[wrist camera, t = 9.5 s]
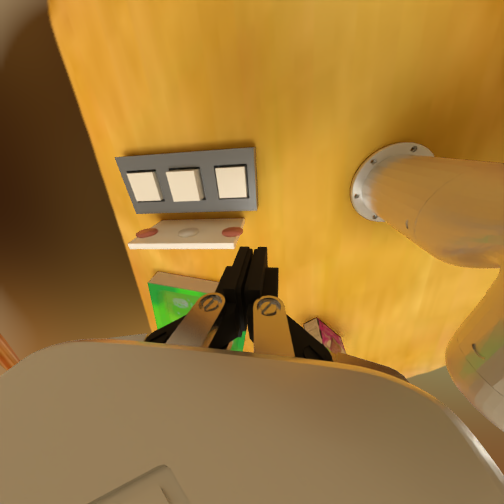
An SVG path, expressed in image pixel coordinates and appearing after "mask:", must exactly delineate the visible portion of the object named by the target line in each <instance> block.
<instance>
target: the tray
mask: <svg viewBox="0 0 504 504" xmlns="http://www.w3.org/2000/svg"><path fill="white" fill-rule="evenodd" d="M218 284H219V282H215V281H209V280H204V279H198V278H192V277H187V276H181V275H175V274H170V273H164V272H157V273H156V274H155V275H154V276H153V278H152V279H151V280H150V281H149V282H148V286H149V291H150V296H151V301H152V305H153V310H154V315H155V319H156V324H157V329H160V328H162V327H164V326H166V325H167V324H169V323H171V322H173V321H175V320H177V319H179V318H181V317H183V316H185V315H187V313H188V312H189V311H190V309H191V308H192V307H193V305H194V304H195V303H196V301H197V300H198V299H199V298H200V297H201V296H203V295H205V294H208V293H215V290H216V288H217V286H218ZM245 335H246V332H245V331H243V332H242V337H237V338H236V339H234V340H233V341H232V342H233V344H232V347H231V350H232V351H242V352H243V346H244V340H245Z"/></svg>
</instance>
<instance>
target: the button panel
mask: <svg viewBox="0 0 504 504" xmlns="http://www.w3.org/2000/svg"><path fill="white" fill-rule="evenodd" d="M115 160H116V162H117V165H118V167H119V170H120V172H121V175H122V178H123V180H124V183H125V185H126V188H127V190H128V193H129V196H130V198H131V201H132V203H133V206H134V209H135V211H136V214H147V213H183V212H218V211H253V210H257V208H258V189H257V168H256V148H255V147H248V148H234V149H220V150H207V151H193V152H179V153H166V154H152V155H138V156H125V157H115ZM236 165H247V175H248V188H249V194H248V196H247V197H238V198H220V197H219V190H218V184H217V177H216V170H215V168H218V167H220V166H236ZM198 168H200V171H201V176H202V181H203V187H204V192H205V197H204V198H203V199H201V200H200V201H179V202H174V201H173V197H172V194H171V190H170V186H169V183H168V179H167V175H166V172H169V171H172V170H181V169H198ZM154 170H156V173H157V176H158V179H159V183H160V186H161V189H162V193H163V196H164V199H162V200H158V201H137V200H136V198H135V195H134V192H133V190H132V187H131V184H130V182H129V179H128V176H127V174H128V173H133V172H137V171H154ZM244 223H245V221H244V218H229V219H185V220H162V221H160V222H159V223H157V224H156V225H154V226H153V227H151V228H149V229H144V230H141V231H139V232H137V233H136V236H137V238H135V239H134V240H132V241H131V242H129V243H128V246H129V248H130V249H234V248H235V246H236V243H237V241H238V238H239V236H240V235H241V234H242V233H243V229H242V228H243V226H244Z"/></svg>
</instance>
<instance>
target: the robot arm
mask: <svg viewBox="0 0 504 504" xmlns="http://www.w3.org/2000/svg"><path fill="white" fill-rule="evenodd" d="M411 148H412V150H411ZM371 160H373V162H372V163H371ZM355 194H356V196H354V195H355ZM350 198H351V203H352V205H353V207H354V209H355V210H356V211H357V212H358V213H359V214H360V215H361V216H363V217H364V218H366V219H368V220H371V221H376V222H387V223H388V224H390V225H391V226H392V227H394V228H395V229H396V230H398V231H399V232H401V233H402V234H403V235H405V236H406V237H407V238H409V239H410V240H411V241H413V242H414V243H416V244H417V245H418V246H420V247H421V248H422V249H424V250H425V251H427V252H428V253H429V254H431V255H432V256H434V257H436V258H437V259H439V260H441V261H443V262H446V263H448V264H452V265H455V266H460V267H468V268H500V272H499V274H498V277H497V278H496V280H495V281H494V282H493V284H492V285H491V287H490V288H489V289H488V290H487V292H486V295H485V296H484V297H483V299H482V300H481V301H480V302H479V304H478V305H477V306H476V307H475V309H474V310H473V311H472V312H471V313H470V315H469V316H468V317H467V318H466V320H465V321H464V322H463V323H462V325H461V326H460V327H459V328H458V330H457V331H456V332H455V334H454V335H453V337H452V338H451V340H450V341H449V343H448V346H447V349H446V353H445V360H446V366H447V369H448V372H449V374H450V376H451V378H452V380H453V382H454V383H455V385H456V386H457V387H458V389H459V390H460V391H461V393H462V394H463V395H464V396H465V397H466V399H467V400H468V401H469V402H470V403H471V404H472V405H473V406H474V407H475V408H476V409H477V410H478V411H480V412H481V413H482V414H483V415H484V416H485V417H486V418H487V419H488V420H489V421H491V422H492V423H493V424H494V425H495V426H497V427H498V428H499V429H501V430H502V431H503V432H504V163H496V162H485V161H475V160H464V159H453V158H443V157H435V156H434V154H433V153H432V152H431V151H430V150H429V149H428V148H427V147H425V146H423V145H421V144H417V143H410V142H403V143H396V144H391V145H389V146H386V147H384V148H382V149H380V150H378V151H377V152H375V153H373V154H372V155H371V156H370V157H369V158H367V159H366V160H365V162H364V163H363V164H362V165H361V166H360V167H359V169H358V170H357V172H356V174H355V176H354V178H353V180H352V184H351V188H350ZM373 215H374V216H373ZM247 324H248V331H249V336H250V339H251V340H252V342H253V343H254V353H251V352H242V351H232V350H231V347H232V344H233V342H232V341H233V340H234V339H236V338H237V337H242V332H243V331H245V332H246V329H247ZM0 504H504V475H503V474H502V473H501V471H500V470H499V468H498V467H497V465H496V464H495V462H494V461H493V460H492V458H490V456H489V454H488V453H487V452H486V450H485V449H484V448H483V446H482V445H481V444H480V442H479V441H478V440H477V439H476V437H475V436H474V435H473V434H472V432H471V431H470V430H469V429H468V428H467V426H466V425H465V424H464V423H463V422H462V421H461V420H460V419H459V418H458V416H456V414H454V412H452V411H451V410H450V409H449V408H448V407H447V406H446V405H445V404H443V403H442V402H441V401H439V400H438V399H437V398H435V397H434V396H432V395H430V394H429V393H427V392H425V391H423V390H422V389H420V388H418V387H416V386H414V385H412V384H410V383H409V382H408V381H407V379H406V378H405V377H404V376H403V375H402V374H400V373H399V372H398V371H396V370H394V369H392V368H390V367H387V366H384V365H380V364H377V363H374V362H370V361H367V360H364V359H360V358H357V357H354V356H351V355H347V354H344V353H341V352H337V354H335V353H332V352H329V350H328V349H327V348H326V347H325V346H324V345H323V344H321V343H320V342H319V341H318V340H317V339H315V338H314V337H313V336H312V335H311V334H309V333H308V332H307V331H306V330H305V329H303V328H302V327H301V326H300V325H299V324H297V323H296V322H295V321H294V320H293V319H291V318H290V317H289V316H288V315H287V314H286V311H285V306H284V304H283V302H282V301H281V300H280V299H279V298H278V268H269V267H268V265H267V247H258V249H255V250H254V254H253V250H252V249H250V248H249V247H240V248H239V251H238V253H237V256H236V258H235V261H234V263H233V265H232V266H227V267H226V268H225V271H224V273H223V275H222V277H221V279H220V282H219V284H218V286H217V288H216V290H215V293H208V294H205V295H203V296H201V297H200V298H199V299H198V300H197V301H196V303H195V304H194V305H193V307H192V308H191V309H190V311H189V312H188V313H187V315H185V316H183V317H181V318H179V319H177V320H175V321H173V322H171V323H169V324H167V325H166V326H164V327H162V328H160V329H158V330H156V331H154V332H153V333H151V334H150V335H149V336H148V334H147V333H146V334H138V335H130V336H122V337H115V338H108V339H82V340H75V341H68V342H64V343H60V344H56V345H52V346H49V347H47V348H44V349H41V350H39V351H36V352H34V353H33V354H31V355H29V356H27V357H26V358H24V359H23V360H21V361H20V362H19V363H17V364H16V365H14V366H13V367H12V368H10V369H9V370H8V371H6V372H5V373H4V374H3V375H1V376H0Z"/></svg>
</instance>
